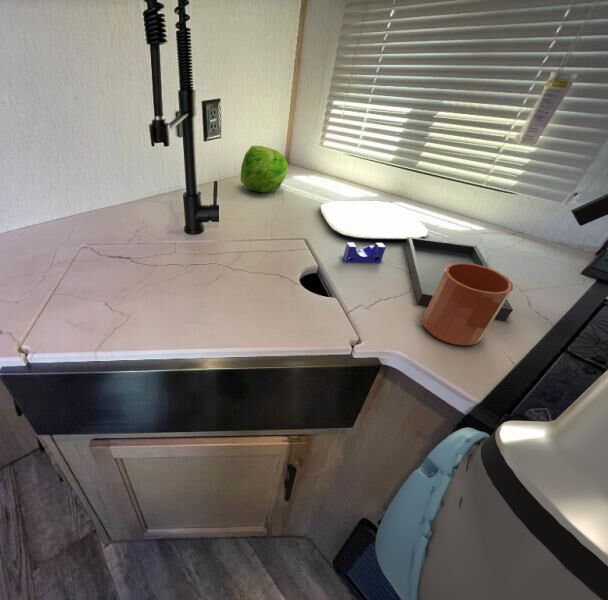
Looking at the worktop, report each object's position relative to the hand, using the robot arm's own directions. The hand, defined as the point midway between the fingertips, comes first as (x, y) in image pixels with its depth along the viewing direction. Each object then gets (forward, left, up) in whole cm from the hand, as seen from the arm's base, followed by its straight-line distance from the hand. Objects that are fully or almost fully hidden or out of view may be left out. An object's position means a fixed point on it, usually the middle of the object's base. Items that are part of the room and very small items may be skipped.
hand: (598, 237), depth 47 cm
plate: (+49, -2, -20) cm, 53 cm away
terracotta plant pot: (+5, +9, -20) cm, 22 cm away
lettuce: (+81, +19, -20) cm, 86 cm away
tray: (+20, -3, -20) cm, 28 cm away
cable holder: (+31, +11, -20) cm, 39 cm away
